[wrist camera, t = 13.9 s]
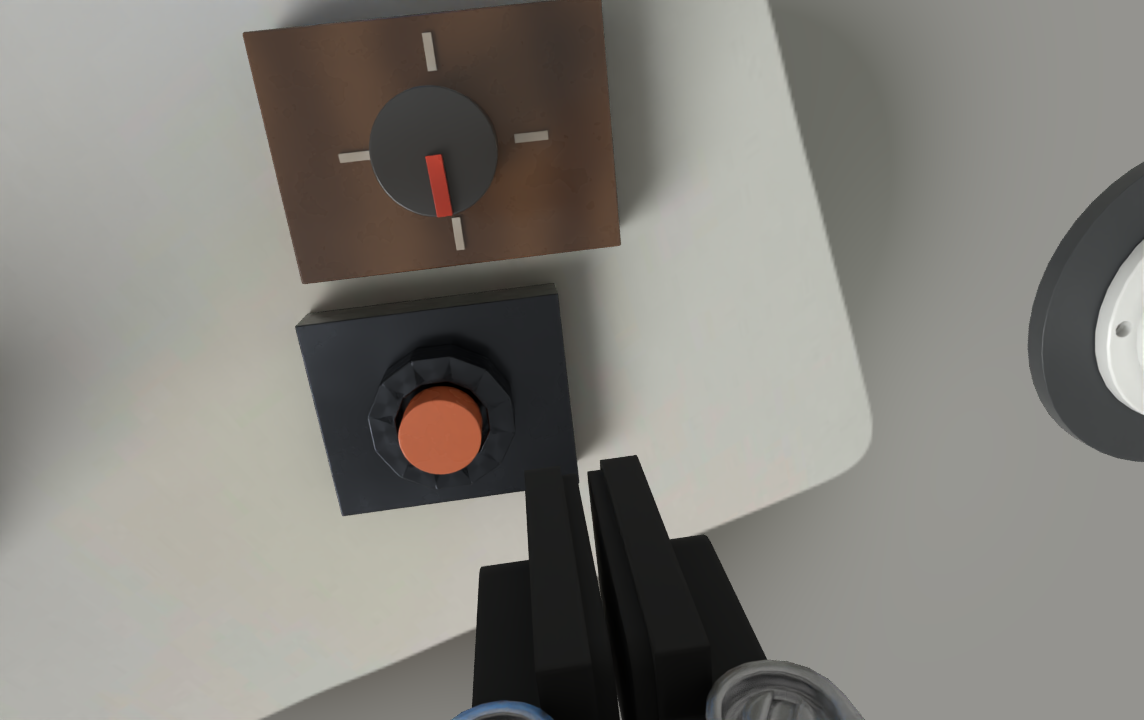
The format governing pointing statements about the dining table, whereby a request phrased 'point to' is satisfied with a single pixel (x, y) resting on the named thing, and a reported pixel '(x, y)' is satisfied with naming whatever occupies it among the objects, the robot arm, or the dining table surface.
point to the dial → (433, 150)
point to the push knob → (441, 430)
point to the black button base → (440, 358)
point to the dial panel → (469, 66)
